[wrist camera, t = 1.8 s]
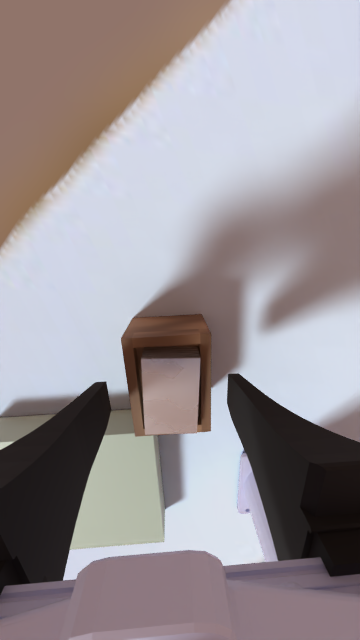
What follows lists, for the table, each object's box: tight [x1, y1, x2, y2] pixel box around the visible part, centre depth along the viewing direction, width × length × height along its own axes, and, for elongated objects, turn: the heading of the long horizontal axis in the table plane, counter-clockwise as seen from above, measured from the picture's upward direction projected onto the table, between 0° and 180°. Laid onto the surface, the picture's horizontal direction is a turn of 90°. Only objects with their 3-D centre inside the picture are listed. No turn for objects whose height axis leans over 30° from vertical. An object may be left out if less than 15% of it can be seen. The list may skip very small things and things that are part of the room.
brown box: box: [121, 314, 211, 437], centre depth 14 cm, size 5×7×4 cm
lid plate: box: [141, 346, 200, 435], centre depth 13 cm, size 3×5×2 cm, turn 179°
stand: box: [0, 409, 165, 550], centre depth 18 cm, size 13×13×2 cm
